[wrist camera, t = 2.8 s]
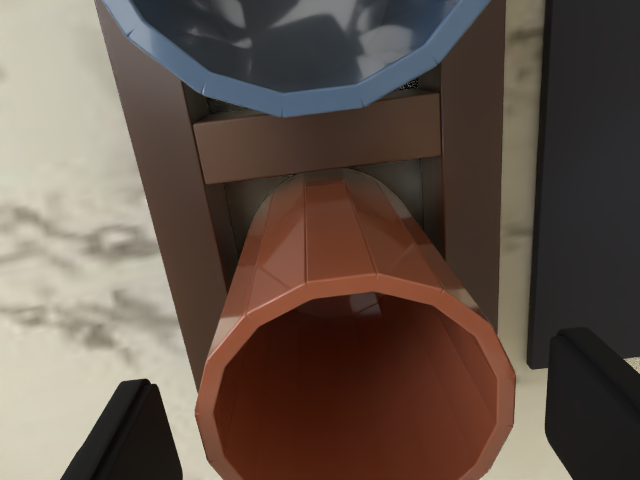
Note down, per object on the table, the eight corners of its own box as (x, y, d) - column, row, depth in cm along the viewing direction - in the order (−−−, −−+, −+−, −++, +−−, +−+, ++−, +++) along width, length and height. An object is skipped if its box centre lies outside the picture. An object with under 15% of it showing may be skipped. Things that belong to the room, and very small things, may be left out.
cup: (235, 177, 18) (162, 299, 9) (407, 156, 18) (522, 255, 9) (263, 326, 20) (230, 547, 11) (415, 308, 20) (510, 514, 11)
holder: (218, 379, 21) (205, 426, 19) (75, -217, 14) (17, -290, 11) (471, 348, 21) (497, 392, 18) (471, -269, 13) (515, -357, 11)
